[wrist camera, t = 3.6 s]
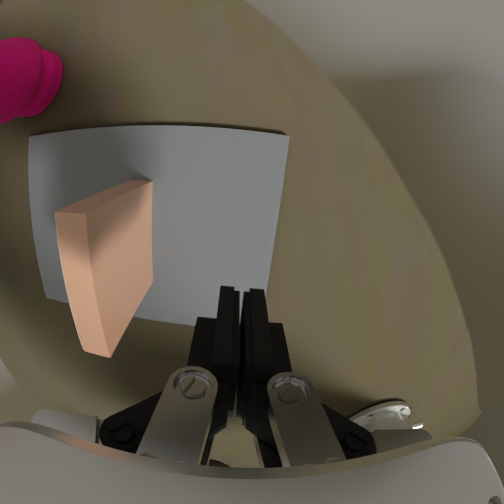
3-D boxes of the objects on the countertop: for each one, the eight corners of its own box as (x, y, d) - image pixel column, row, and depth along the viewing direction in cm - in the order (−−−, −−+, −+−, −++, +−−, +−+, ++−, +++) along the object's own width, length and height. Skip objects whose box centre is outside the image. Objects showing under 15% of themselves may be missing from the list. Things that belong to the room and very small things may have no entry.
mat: (288, 136, 17) (289, 136, 17) (258, 328, 23) (259, 332, 23) (33, 136, 16) (29, 136, 15) (48, 294, 22) (46, 297, 21)
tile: (152, 181, 18) (85, 213, 9) (153, 281, 21) (110, 358, 12) (128, 180, 18) (53, 211, 9) (131, 278, 21) (82, 350, 12)
